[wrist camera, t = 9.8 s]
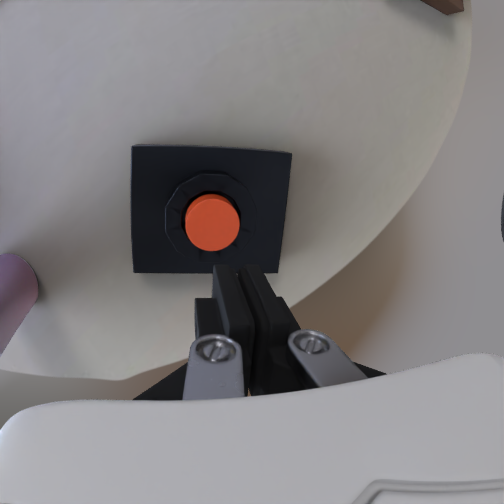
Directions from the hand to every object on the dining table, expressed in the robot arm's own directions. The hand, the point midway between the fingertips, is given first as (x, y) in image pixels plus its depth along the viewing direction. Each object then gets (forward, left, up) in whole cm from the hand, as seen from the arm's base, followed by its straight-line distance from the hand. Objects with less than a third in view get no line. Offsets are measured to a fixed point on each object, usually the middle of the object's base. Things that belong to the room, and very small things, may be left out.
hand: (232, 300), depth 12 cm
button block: (0, 0, -15) cm, 15 cm away
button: (0, 0, -11) cm, 11 cm away
